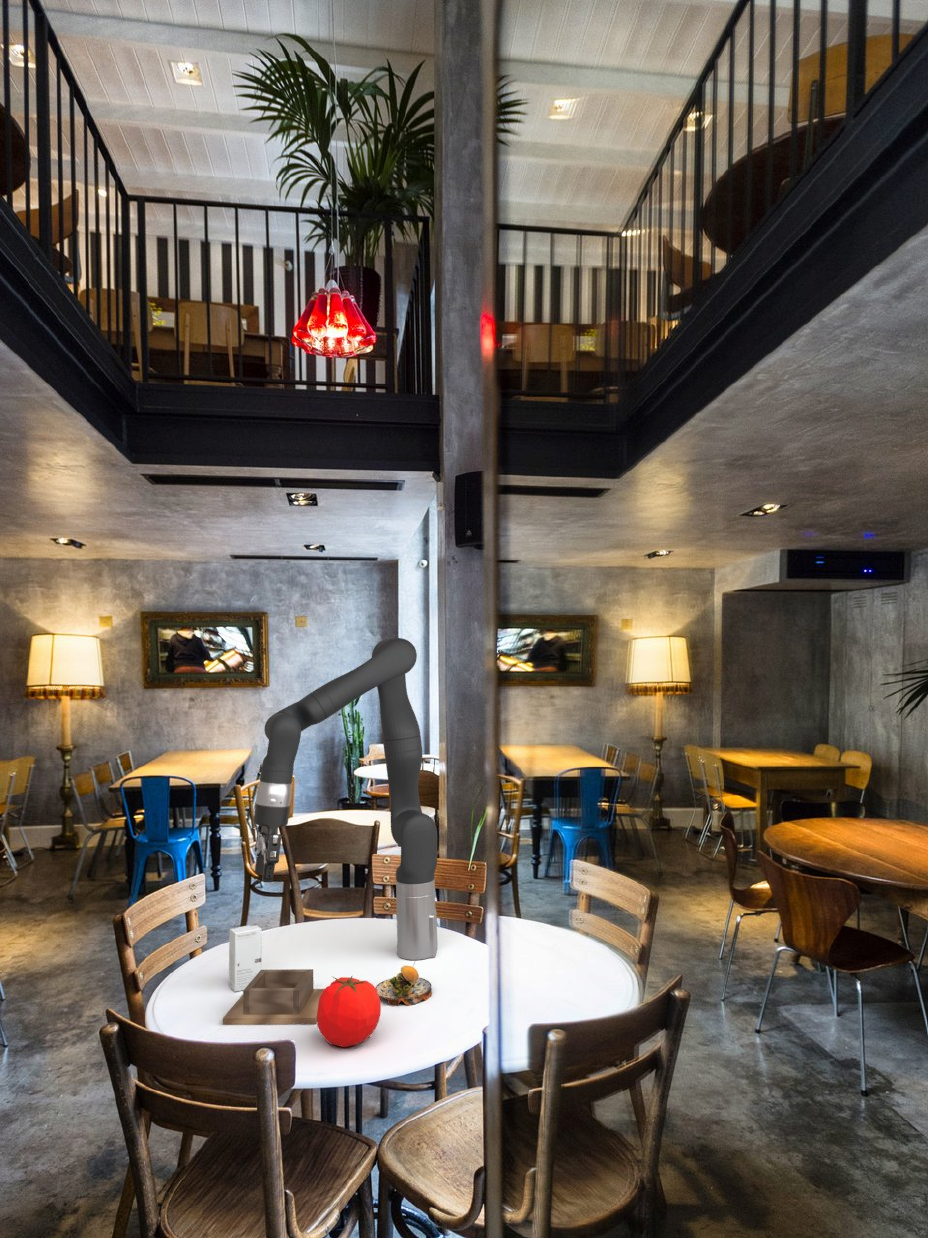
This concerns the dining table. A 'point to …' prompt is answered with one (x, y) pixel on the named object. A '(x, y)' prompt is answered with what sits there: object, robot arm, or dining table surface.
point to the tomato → (348, 1011)
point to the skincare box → (244, 955)
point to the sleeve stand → (277, 999)
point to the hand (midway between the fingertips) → (263, 878)
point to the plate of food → (405, 988)
